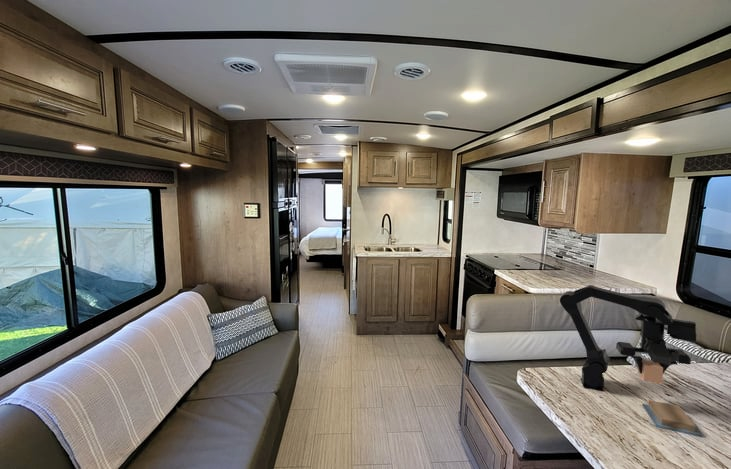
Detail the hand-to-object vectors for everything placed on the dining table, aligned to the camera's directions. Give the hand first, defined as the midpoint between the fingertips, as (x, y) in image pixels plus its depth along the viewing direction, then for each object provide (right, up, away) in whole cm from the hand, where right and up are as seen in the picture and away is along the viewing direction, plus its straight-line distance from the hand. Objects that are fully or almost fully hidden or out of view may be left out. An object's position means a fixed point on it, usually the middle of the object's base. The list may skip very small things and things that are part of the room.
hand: (649, 374), depth 106 cm
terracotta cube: (0, -2, 0) cm, 2 cm away
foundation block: (0, -12, -7) cm, 14 cm away
